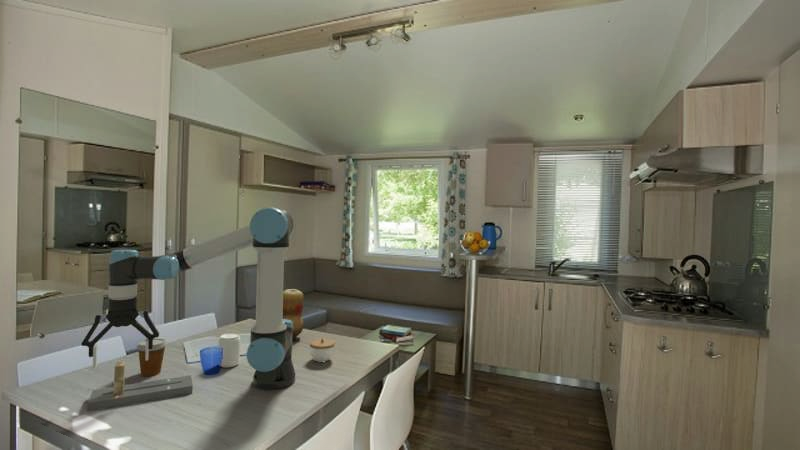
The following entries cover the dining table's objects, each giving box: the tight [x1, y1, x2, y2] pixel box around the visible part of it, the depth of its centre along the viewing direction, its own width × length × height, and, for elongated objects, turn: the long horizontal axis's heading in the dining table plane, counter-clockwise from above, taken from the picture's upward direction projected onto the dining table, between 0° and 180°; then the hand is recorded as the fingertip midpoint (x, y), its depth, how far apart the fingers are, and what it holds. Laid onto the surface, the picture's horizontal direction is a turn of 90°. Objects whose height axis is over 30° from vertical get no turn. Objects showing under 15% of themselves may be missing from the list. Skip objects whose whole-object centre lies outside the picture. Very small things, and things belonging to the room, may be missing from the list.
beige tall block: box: [113, 360, 126, 395], centre depth 122 cm, size 2×4×9 cm, turn 32°
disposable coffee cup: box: [136, 337, 168, 377], centre depth 144 cm, size 10×10×12 cm
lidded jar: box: [309, 338, 335, 363], centre depth 165 cm, size 11×11×9 cm
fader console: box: [86, 374, 193, 412], centre depth 126 cm, size 28×10×3 cm, turn 122°
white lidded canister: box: [218, 332, 241, 368], centre depth 155 cm, size 8×8×12 cm
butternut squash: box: [282, 288, 305, 340], centre depth 193 cm, size 14×13×25 cm
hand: (121, 362), depth 122 cm, fingers open, 13 cm apart
